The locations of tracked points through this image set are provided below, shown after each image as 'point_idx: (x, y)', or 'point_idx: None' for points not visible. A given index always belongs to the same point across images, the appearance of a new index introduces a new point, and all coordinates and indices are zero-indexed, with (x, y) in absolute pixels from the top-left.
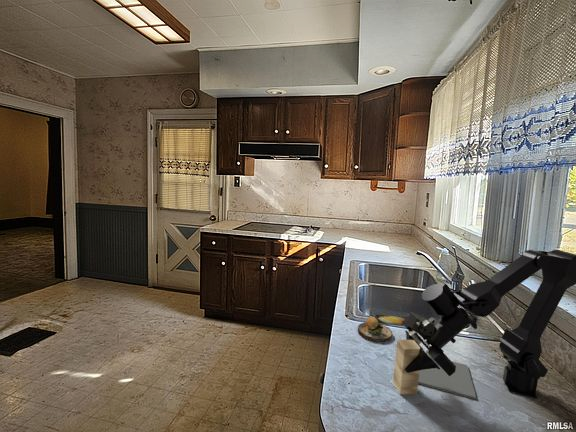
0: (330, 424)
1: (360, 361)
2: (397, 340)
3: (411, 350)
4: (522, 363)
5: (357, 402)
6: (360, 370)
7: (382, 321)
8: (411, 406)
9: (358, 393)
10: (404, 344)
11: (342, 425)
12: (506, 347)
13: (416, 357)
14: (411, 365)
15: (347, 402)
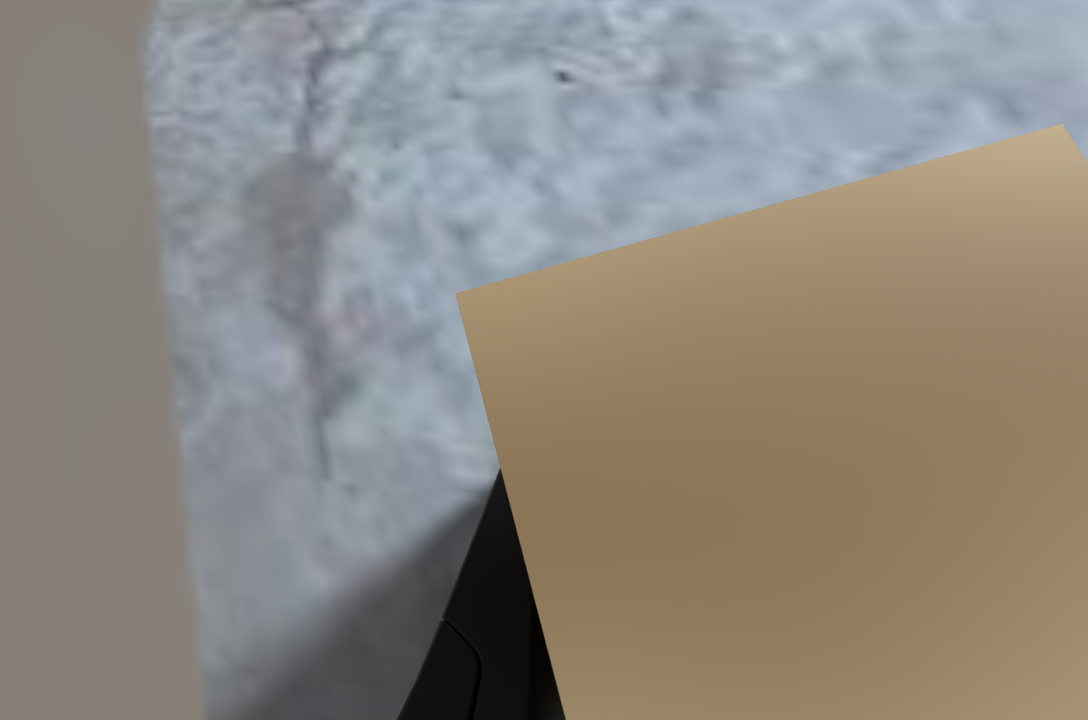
0: (159, 6)
1: (892, 148)
2: (1024, 140)
3: (533, 557)
4: None
5: (369, 136)
6: (756, 150)
7: None
8: (409, 525)
9: (464, 140)
10: (805, 330)
11: (158, 63)
12: None
13: (513, 692)
14: (472, 540)
15: (356, 78)
